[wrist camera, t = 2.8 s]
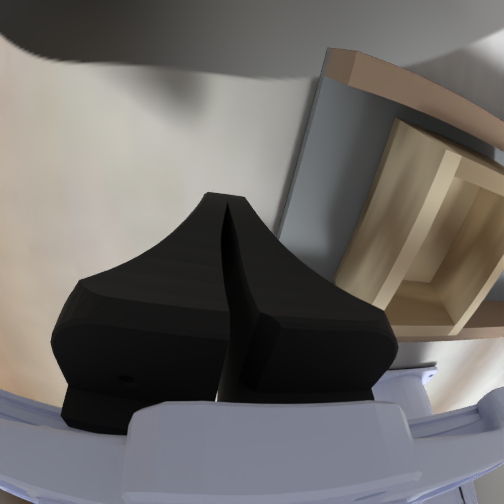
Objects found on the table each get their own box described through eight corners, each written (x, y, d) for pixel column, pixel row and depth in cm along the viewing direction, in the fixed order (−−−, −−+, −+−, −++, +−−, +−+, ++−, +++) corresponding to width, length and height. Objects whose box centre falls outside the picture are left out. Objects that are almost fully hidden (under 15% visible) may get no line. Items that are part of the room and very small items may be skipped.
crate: (429, 287, 18) (456, 335, 15) (333, 278, 17) (353, 336, 14) (494, 160, 13) (542, 196, 10) (395, 117, 12) (446, 149, 9)
